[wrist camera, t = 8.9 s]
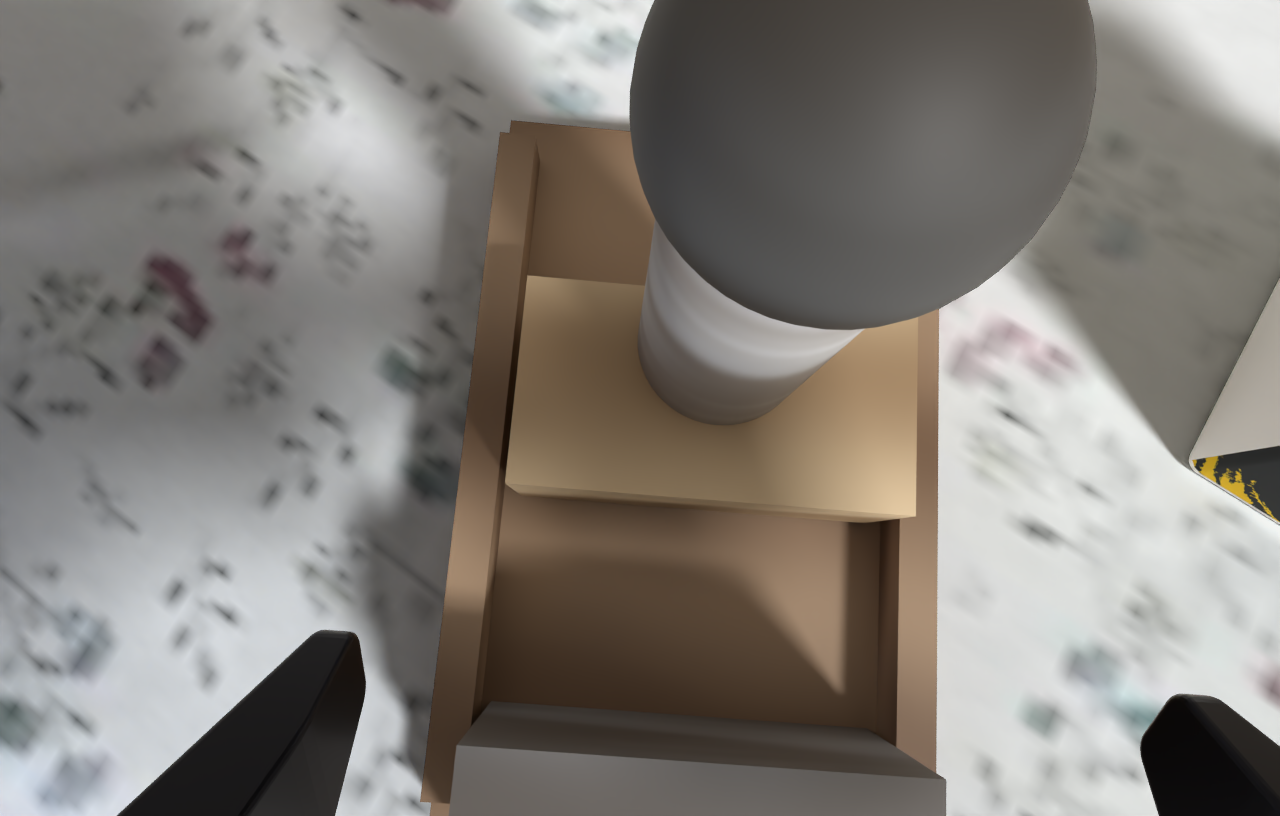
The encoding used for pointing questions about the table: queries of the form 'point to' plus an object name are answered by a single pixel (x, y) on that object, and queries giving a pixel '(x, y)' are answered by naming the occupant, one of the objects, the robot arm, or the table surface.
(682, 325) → the press handle
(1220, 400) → the medicine bottle
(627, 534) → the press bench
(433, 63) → the table surface
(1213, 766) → the robot arm
